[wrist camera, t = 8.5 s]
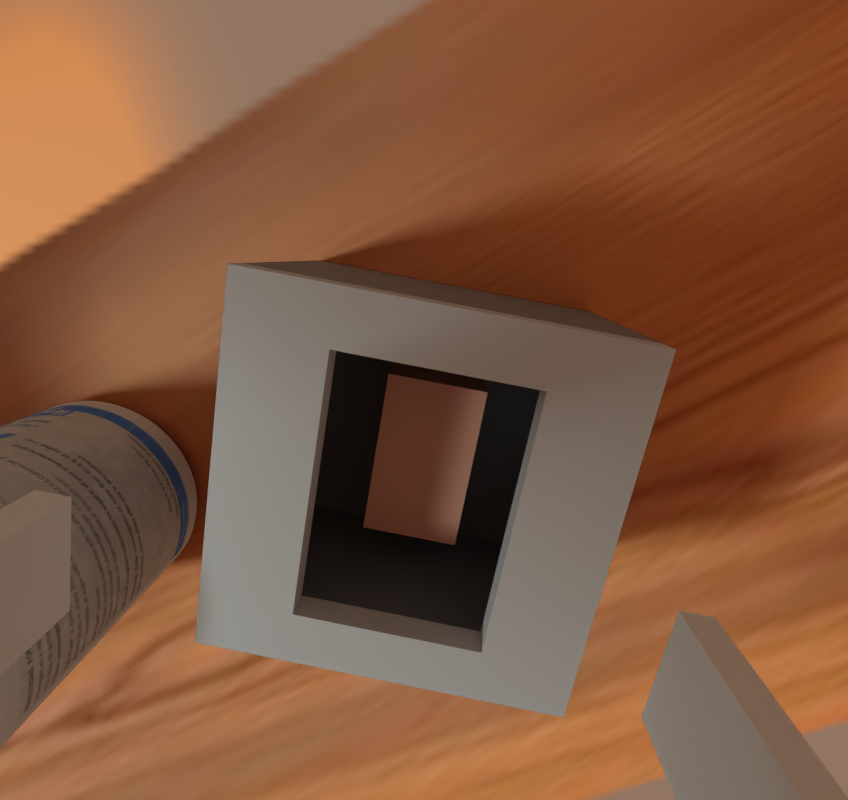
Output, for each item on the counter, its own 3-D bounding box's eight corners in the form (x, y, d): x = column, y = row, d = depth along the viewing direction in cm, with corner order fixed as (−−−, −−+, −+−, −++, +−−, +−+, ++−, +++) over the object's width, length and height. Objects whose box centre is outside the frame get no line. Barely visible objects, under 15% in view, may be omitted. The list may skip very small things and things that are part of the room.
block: (456, 490, 25) (454, 545, 21) (382, 475, 26) (363, 527, 21) (482, 364, 24) (487, 392, 19) (403, 349, 24) (388, 373, 19)
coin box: (289, 506, 27) (194, 642, 18) (320, 260, 24) (227, 263, 15) (527, 553, 27) (563, 717, 18) (590, 311, 24) (676, 349, 14)
